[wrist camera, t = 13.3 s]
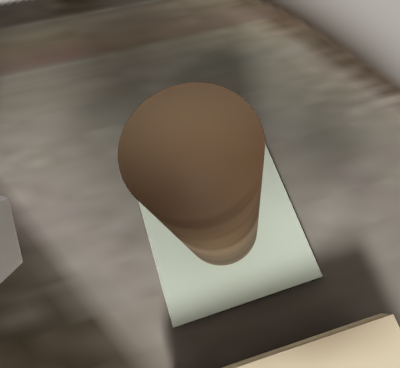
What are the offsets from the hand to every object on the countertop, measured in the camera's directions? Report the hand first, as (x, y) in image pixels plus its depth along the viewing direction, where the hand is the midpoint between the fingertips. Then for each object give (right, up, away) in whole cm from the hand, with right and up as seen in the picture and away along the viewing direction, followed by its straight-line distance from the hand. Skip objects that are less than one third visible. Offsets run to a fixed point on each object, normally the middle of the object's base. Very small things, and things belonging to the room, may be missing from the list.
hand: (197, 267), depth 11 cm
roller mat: (+1, 0, +11) cm, 11 cm away
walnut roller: (+1, 0, +11) cm, 11 cm away
